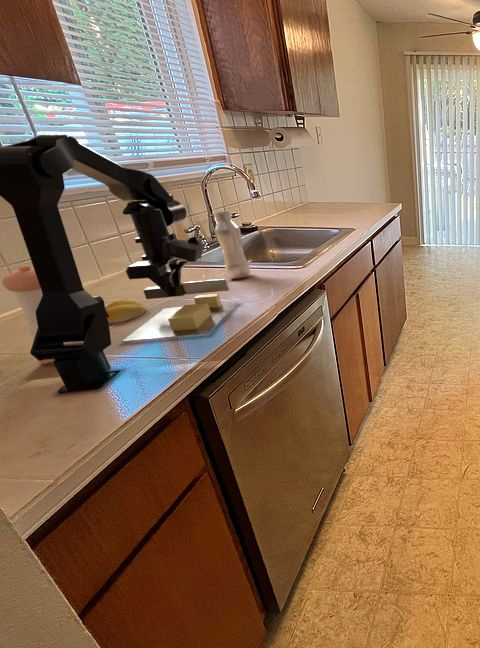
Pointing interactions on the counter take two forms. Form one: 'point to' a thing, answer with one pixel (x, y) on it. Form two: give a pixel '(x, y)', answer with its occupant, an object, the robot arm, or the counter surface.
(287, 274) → the counter surface
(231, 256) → the plastic bottle
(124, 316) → the bread roll
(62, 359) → the robot arm
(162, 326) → the board
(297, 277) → the counter surface
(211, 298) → the butter slice
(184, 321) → the butter stick
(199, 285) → the knife
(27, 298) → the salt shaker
